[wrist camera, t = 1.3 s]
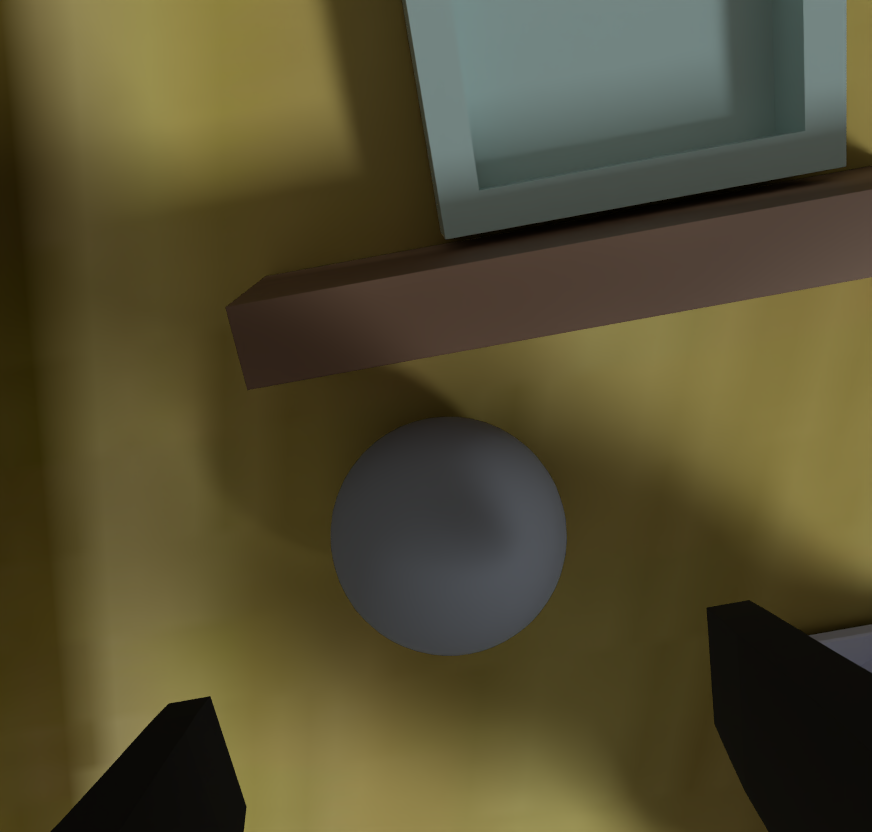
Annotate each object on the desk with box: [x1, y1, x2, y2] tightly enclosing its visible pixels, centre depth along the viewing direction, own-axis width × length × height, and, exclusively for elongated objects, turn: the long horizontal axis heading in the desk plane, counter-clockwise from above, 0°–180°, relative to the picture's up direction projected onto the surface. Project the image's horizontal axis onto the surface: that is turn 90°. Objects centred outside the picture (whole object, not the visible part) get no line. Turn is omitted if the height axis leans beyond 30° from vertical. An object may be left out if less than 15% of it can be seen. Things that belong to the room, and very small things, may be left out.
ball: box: [331, 417, 567, 656], centre depth 16 cm, size 5×5×5 cm
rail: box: [226, 166, 872, 390], centre depth 15 cm, size 2×14×4 cm, turn 100°
